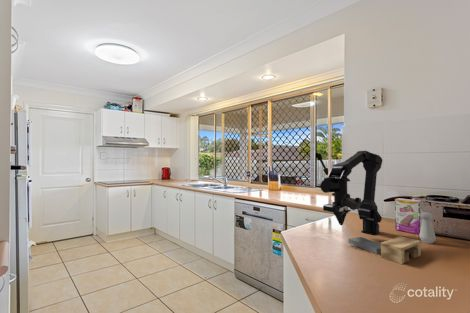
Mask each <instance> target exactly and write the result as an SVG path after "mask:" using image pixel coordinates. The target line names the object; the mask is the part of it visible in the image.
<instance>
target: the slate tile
mask: <svg viewBox="0 0 470 313" xmlns="http://www.w3.org/2000/svg"><path fill="white" fill-rule="evenodd" d="M348 244H351V245H353V246H355V247H358V248H361V249H362V250H363V249H364V250H366V251H368V252H371V253H373V254H376V255H378V254H379V255H380V254H381V242H377V241H373V240H370V239H368V238H366V237H363V236H357V237H351V238H350V237H349V238H348Z"/></svg>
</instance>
